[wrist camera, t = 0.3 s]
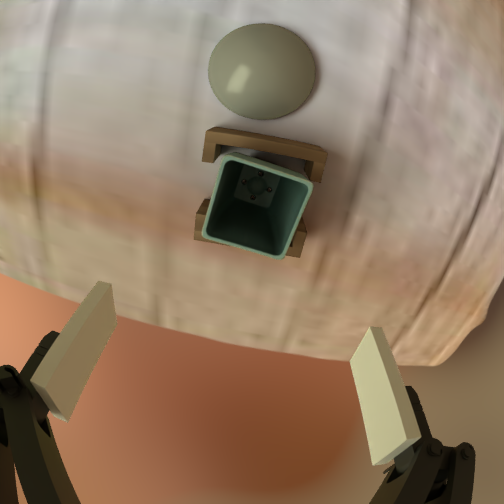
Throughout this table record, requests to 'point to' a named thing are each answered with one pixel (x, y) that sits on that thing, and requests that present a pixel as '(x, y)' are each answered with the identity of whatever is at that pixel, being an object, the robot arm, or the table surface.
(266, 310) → the table surface
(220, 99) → the olive beige round disc
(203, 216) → the frame
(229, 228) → the flower pot
